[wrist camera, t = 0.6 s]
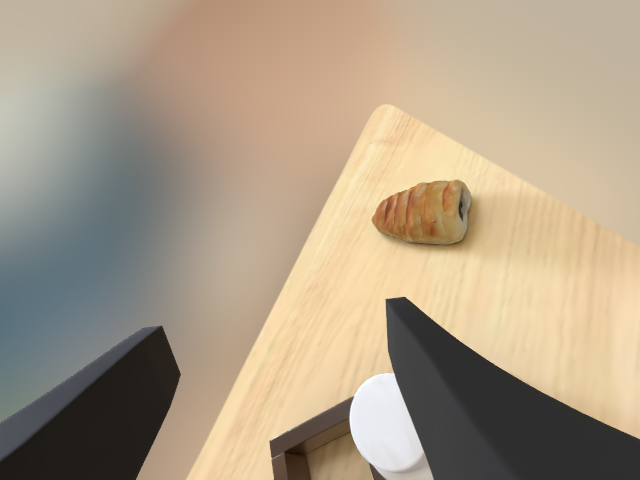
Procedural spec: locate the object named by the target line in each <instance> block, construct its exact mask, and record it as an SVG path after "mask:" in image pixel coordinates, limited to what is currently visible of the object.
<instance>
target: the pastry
mask: <svg viewBox="0 0 640 480" xmlns="http://www.w3.org/2000/svg"><path fill="white" fill-rule="evenodd" d="M470 204H471V194H470V191H469V190H468V188H467V186H466V185H465V184H464V183H463V182H462V181H459V180H454V181H435V182H431V183H419V184H418V185H417V186H415V187H412V188H410V189H408V190H405V191H402V192H399V193H396V194H395V195H392V196H390V197H389V198H387V199H386V200H383V201H382V202H381V203H380V205H379V206H378V208H377V210H376V212H375V215H374V216H373V217H372V222H373V224H374V225H375V227H376V228H377V230H378V231H379V232H380V233H384V234H387V235H391V236H393V237H394V238H399V239H403V240H405V241H407V242H409V243H414V242H416V243H426V244H441V245H448V244H452V243H455V242H459V241H461V240H462V239H463V238H464V235H465V233H466V230H467V226H468V222H467V219H468V218H467V211H468V209H469V207H470Z"/></svg>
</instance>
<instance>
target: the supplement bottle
mask: <svg viewBox="0 0 640 480" xmlns="http://www.w3.org/2000/svg"><path fill="white" fill-rule="evenodd" d="M350 429H351V433H352V437H353V440H354V442H355V444H356V446H357V448H358V450H359V452H360V453H361V454H362V456H363V457H364V458H365V459H366V460H367V461H368V462H369V463H370V464H372V465H373V466H374V467H375V468H376V470H377V471H378V472H379V473H380V474H381V475H382V476H383V477H384V478H385V479H387V480H434V479H433V476H432V473H431V470H430V467H429V464H428V461H427V459H426V456H425V453H424V451H423V448H422V446H421V443H420V440H419V438H418V435H417V433H416V430H415V428H414V425H413V423H412V420H411V418H410V415H409V412H408V410H407V407H406V405H405V402H404V400H403V397H402V394H401V392H400V389H399V387H398V384H397V381H396V378H395V374H394V373H393V374H380V375H376V376H374V377H372V378H370V379H368V380H367V381H366V382H364V383H363V384H362V385H361V387H360V388H359V389H358V391H357V392H356V394H355V396H354V399H353V401H352V405H351V409H350Z"/></svg>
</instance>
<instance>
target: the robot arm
mask: <svg viewBox="0 0 640 480" xmlns="http://www.w3.org/2000/svg"><path fill="white" fill-rule="evenodd" d="M386 317H387V338H388V352H389V356H390V359H391V363H392V367H393V371H394V374H395V378H396V381H397V384H398V387H399V389H400V392H401V394H402V397H403V400H404V402H405V405H406V407H407V410H408V412H409V415H410V418H411V420H412V423H413V425H414V428H415V430H416V433H417V435H418V438H419V440H420V443H421V446H422V448H423V451H424V453H425V456H426V459H427V461H428V464H429V467H430V470H431V473H432V476H433V479H434V480H640V439H638V438H636V437H633V436H631V435H629V434H627V433H624V432H622V431H620V430H618V429H615V428H613V427H611V426H609V425H607V424H604V423H602V422H600V421H598V420H596V419H594V418H592V417H590V416H588V415H585V414H583V413H581V412H579V411H577V410H575V409H573V408H571V407H569V406H568V405H566V404H564V403H562V402H560V401H558V400H556V399H554V398H552V397H550V396H548V395H546V394H544V393H542V392H541V391H539V390H537V389H535V388H533V387H531V386H530V385H528V384H526V383H524V382H523V381H521V380H519V379H518V378H516V377H514V376H512V375H511V374H509V373H507V372H506V371H504V370H502V369H501V368H499V367H497V366H496V365H494V364H493V363H491V362H490V361H488V360H486V359H485V358H483V357H482V356H480V355H479V354H478V353H476V352H475V351H473V350H472V349H470V348H469V347H467V346H466V345H464V344H463V343H462V342H460V341H459V340H458V339H456V338H455V337H454V336H452V335H451V334H450V333H448V332H447V331H446V330H445V329H443V328H442V327H441V326H439V325H438V324H437V323H436V322H434V321H433V320H432V319H431V318H430V317H428V316H427V315H426V314H425V313H424V312H422V311H421V310H420V309H419V308H418V307H417V306H415V305H414V304H413V303H412V302H411V301H409V300H408V299H407V298H406V297H400V298H392V299H386ZM180 375H181V374H180V371H179V369H178V366H177V363H176V361H175V358H174V356H173V353H172V350H171V348H170V345H169V343H168V340H167V337H166V335H165V332H164V330H163V327H162V326H157V327H148V328H143V329H141V330H139V331H137V332H136V333H134V334H133V335H131V336H129V337H128V338H127V339H125V340H123V341H122V342H120V343H119V344H118V345H116V346H115V347H113V348H112V349H110V350H109V351H107V352H106V353H105V354H103V355H102V356H100V357H99V358H97V359H96V360H94V361H93V362H92V363H90V364H89V365H87V366H86V367H84V368H83V369H82V370H80V371H79V372H77V373H76V374H74V375H73V376H71V377H70V378H69V379H67V380H66V381H64V382H63V383H61V384H59V385H58V386H56V387H55V388H54V389H52V390H51V391H49V392H47V393H46V394H44V395H43V396H42V397H40V398H38V399H37V400H35V401H34V402H32V403H31V404H29V405H28V406H26V407H25V408H23V409H22V410H20V411H19V412H17V413H15V414H14V415H12V416H10V417H9V418H7V419H6V420H4V421H2V422H1V423H0V480H136V478H137V476H138V474H139V471H140V469H141V467H142V465H143V463H144V461H145V459H146V457H147V455H148V453H149V451H150V449H151V446H152V444H153V442H154V440H155V438H156V436H157V434H158V432H159V430H160V428H161V425H162V423H163V421H164V419H165V417H166V415H167V413H168V410H169V408H170V406H171V403H172V400H173V397H174V394H175V391H176V388H177V385H178V382H179V378H180Z"/></svg>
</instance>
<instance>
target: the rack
mask: <svg viewBox="0 0 640 480" xmlns="http://www.w3.org/2000/svg"><path fill="white" fill-rule="evenodd" d="M353 399H354V396H353V397H351V398H349V399H347V400H345V401H343V402H341V403H340V404H338V405H336V406H334V407H332V408H330V409H328V410H326V411H325V412H323V413H321V414H319V415H317V416H315V417H313V418H311V419H310V420H308V421H306V422H304V423H302V424H300V425H298V426H296V427H294V428H293V429H291V430H289V431H287V432H285V433H283V434H281V435H279V436H278V437H276V438H274V439H272V440H270V450H271V457H272V466H273V474H274V480H310V475H309V470H308V465H307V459H306V455H305V454H307V453H309V452H311V451H313V450H315V449H317V448H319V447H321V446H323V445H325V444H327V443H329V442H330V441H332V440H334V439H336V438H338V437H340V436H342V435H344V434H346V433H348V432H350V431H351V429H350V409H351V405H352V401H353ZM369 465H370V468H371V471H372V474H373V477H374V480H387V479H385V478H384V477H383V476H382V475H381V474H380V473H379V472H378V471H377V470H376V468H375V467H374V466H373V465H372V464H370V463H369Z"/></svg>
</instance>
